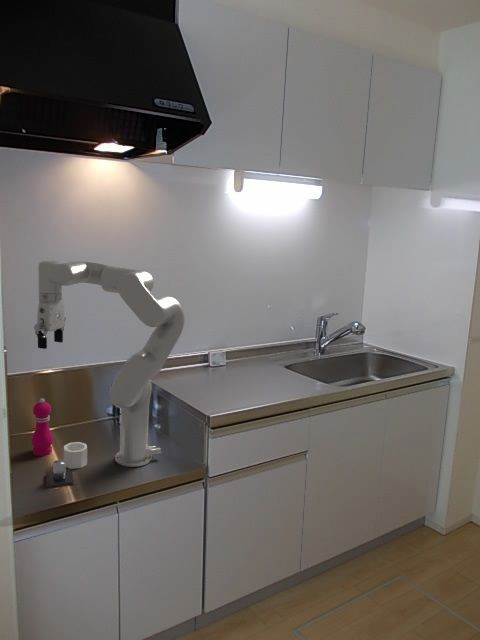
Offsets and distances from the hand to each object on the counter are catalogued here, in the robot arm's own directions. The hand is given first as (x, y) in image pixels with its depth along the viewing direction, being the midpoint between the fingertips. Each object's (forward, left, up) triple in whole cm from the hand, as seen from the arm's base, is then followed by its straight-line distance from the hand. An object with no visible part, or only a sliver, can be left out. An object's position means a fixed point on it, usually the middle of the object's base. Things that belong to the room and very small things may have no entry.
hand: (50, 345), depth 193 cm
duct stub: (-2, +28, -37) cm, 47 cm away
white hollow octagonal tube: (-7, +17, -37) cm, 42 cm away
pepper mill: (+3, +6, -38) cm, 38 cm away
